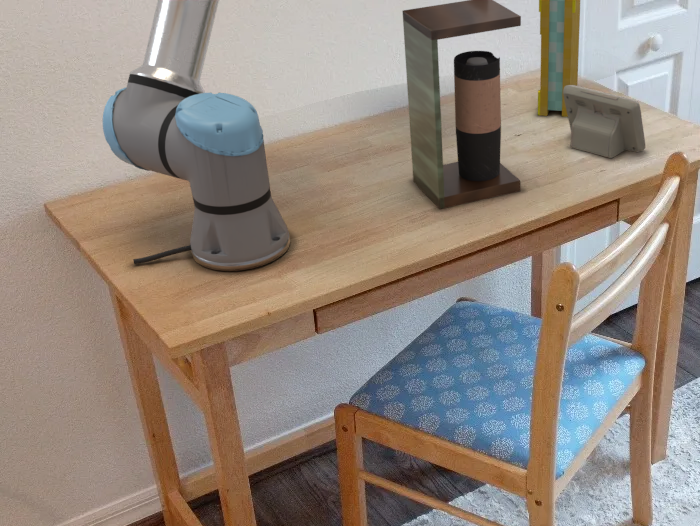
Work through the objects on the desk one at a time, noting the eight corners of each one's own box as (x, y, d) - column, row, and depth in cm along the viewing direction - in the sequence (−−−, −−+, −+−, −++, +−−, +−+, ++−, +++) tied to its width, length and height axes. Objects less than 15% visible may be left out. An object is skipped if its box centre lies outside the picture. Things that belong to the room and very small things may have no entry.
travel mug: (451, 179, 172) (446, 64, 160) (464, 161, 178) (461, 48, 166) (494, 184, 170) (493, 67, 158) (506, 165, 176) (505, 52, 164)
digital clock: (650, 152, 183) (655, 96, 177) (615, 166, 179) (619, 109, 173) (587, 127, 194) (589, 73, 188) (553, 140, 189) (554, 85, 183)
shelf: (439, 209, 167) (431, 30, 150) (413, 181, 176) (402, 10, 159) (520, 191, 172) (521, 16, 155) (490, 165, 181) (488, -3, 164)
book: (571, 116, 198) (575, -14, 184) (537, 115, 200) (539, -15, 185) (580, 86, 212) (585, -38, 197) (549, 85, 213) (551, -38, 199)
